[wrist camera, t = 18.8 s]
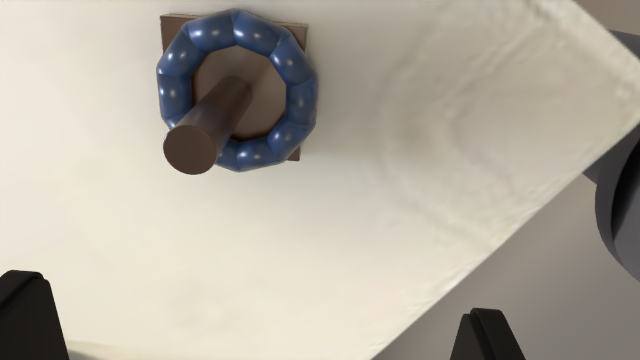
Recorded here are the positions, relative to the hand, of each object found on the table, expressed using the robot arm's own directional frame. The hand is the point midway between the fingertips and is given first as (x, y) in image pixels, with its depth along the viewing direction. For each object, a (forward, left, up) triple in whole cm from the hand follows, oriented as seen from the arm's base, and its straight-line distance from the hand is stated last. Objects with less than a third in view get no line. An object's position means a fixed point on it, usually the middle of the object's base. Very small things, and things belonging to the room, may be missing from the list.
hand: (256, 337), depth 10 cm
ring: (+4, 0, -19) cm, 20 cm away
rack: (+5, 0, -22) cm, 22 cm away
